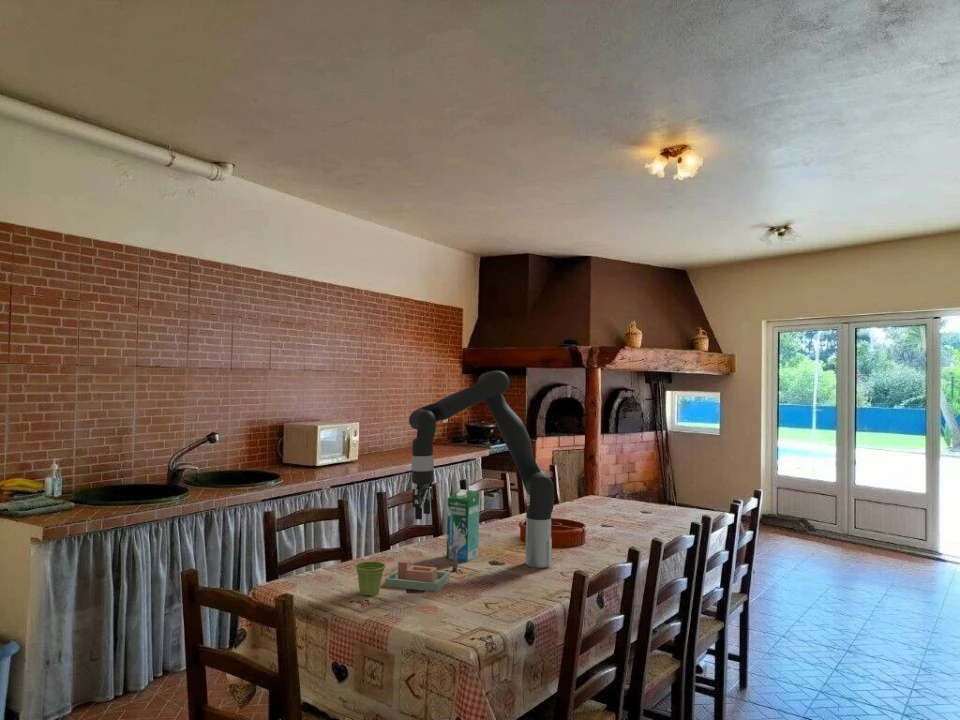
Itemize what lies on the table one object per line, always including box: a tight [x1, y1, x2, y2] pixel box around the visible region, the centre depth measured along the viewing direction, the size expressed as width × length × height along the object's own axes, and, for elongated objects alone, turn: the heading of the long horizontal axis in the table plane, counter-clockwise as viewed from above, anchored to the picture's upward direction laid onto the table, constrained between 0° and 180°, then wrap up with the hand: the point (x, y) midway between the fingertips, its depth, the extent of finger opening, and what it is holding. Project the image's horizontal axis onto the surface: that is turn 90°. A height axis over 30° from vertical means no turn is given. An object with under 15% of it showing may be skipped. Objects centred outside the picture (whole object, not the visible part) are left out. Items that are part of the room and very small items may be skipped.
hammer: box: [452, 546, 459, 572], centre depth 219 cm, size 2×5×8 cm, turn 166°
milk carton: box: [445, 488, 481, 563], centre depth 236 cm, size 9×9×25 cm
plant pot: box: [354, 560, 387, 597], centre depth 194 cm, size 9×9×9 cm
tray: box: [384, 568, 451, 593], centre depth 205 cm, size 18×13×2 cm
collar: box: [397, 559, 438, 583], centre depth 205 cm, size 12×6×6 cm, turn 76°
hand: (422, 516), depth 210 cm, fingers open, 8 cm apart
